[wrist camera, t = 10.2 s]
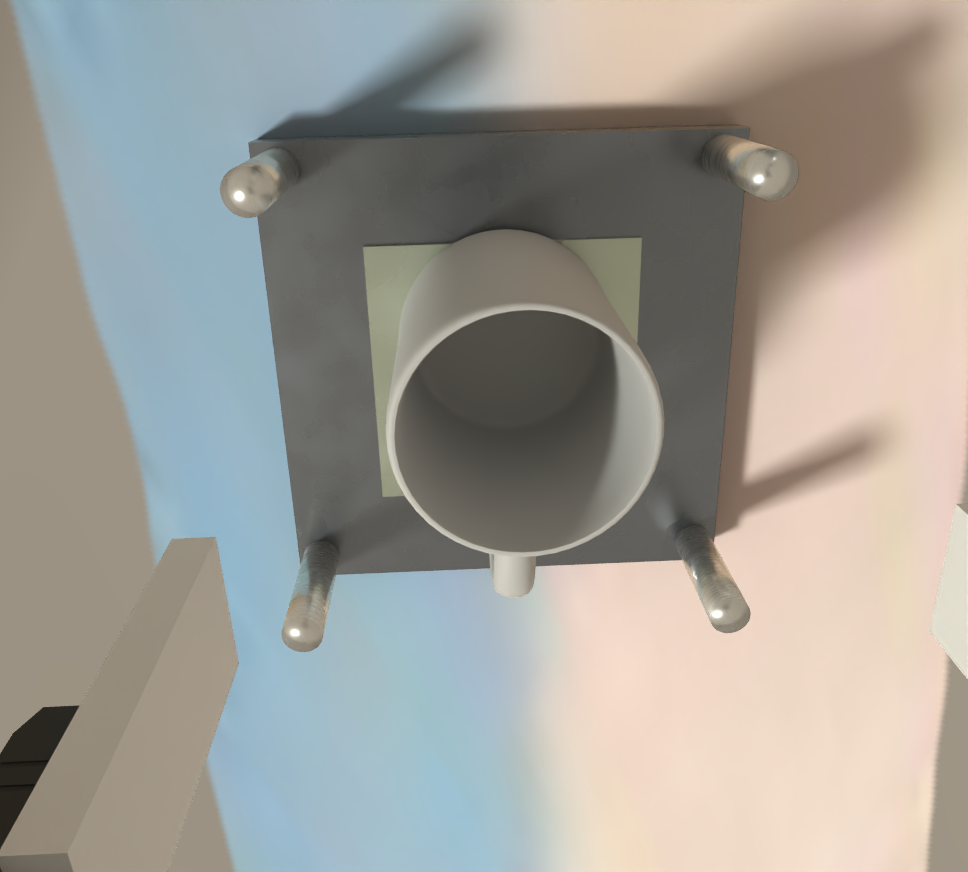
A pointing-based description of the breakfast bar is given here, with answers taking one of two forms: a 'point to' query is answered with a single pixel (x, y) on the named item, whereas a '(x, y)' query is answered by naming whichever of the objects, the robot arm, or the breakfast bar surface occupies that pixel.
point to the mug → (519, 403)
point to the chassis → (445, 220)
